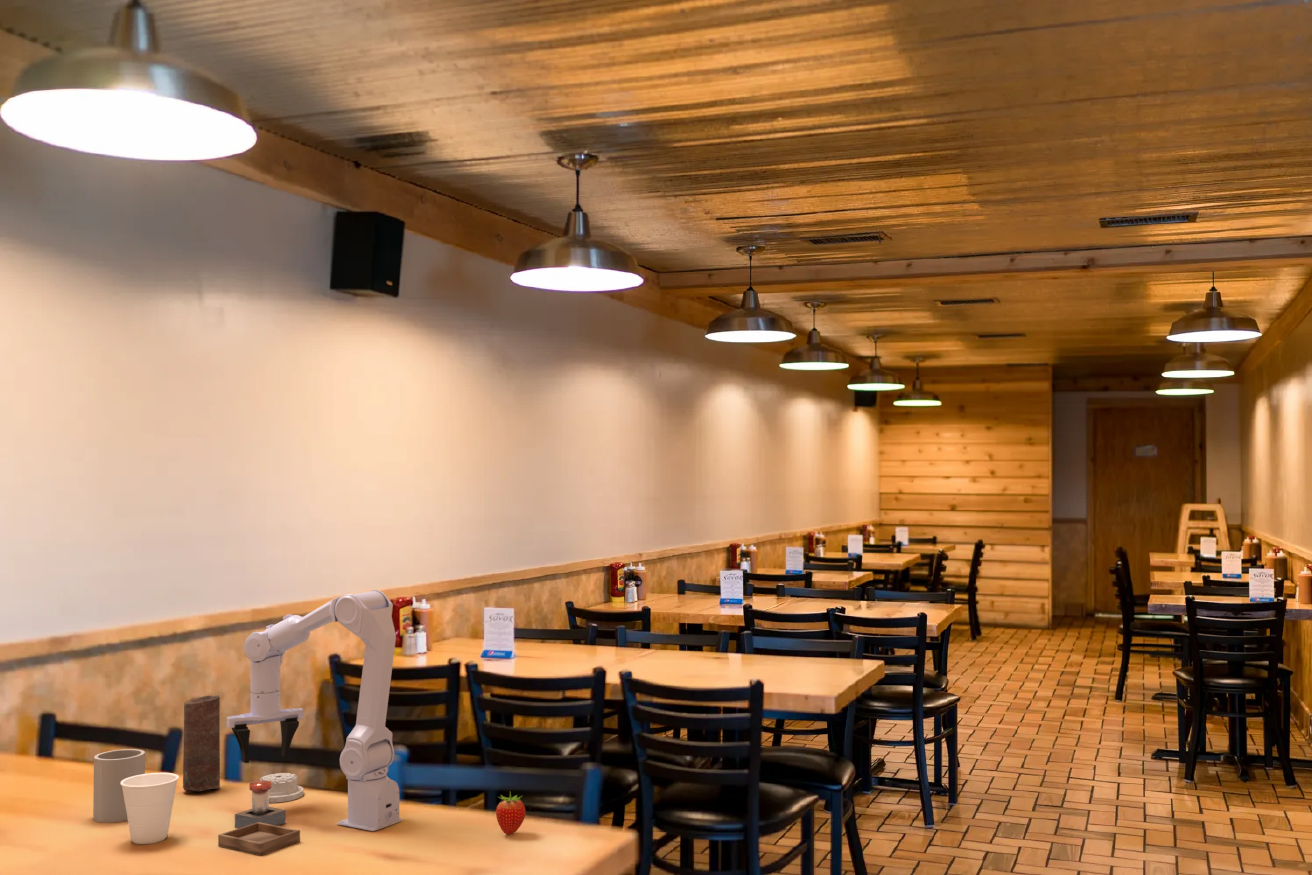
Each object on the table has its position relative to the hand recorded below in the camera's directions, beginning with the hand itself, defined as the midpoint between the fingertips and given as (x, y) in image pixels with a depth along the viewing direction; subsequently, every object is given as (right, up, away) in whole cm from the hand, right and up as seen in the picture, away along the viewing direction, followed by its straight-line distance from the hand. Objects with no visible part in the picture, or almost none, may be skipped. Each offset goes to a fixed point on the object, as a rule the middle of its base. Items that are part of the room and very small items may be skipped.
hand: (265, 759), depth 230 cm
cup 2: (-15, -10, -19) cm, 26 cm away
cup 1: (-28, -10, -4) cm, 30 cm away
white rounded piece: (0, -11, +9) cm, 14 cm away
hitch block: (+3, -10, -11) cm, 15 cm away
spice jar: (+3, -10, -11) cm, 15 cm away
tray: (+6, -9, -22) cm, 25 cm away
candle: (-19, -11, +14) cm, 26 cm away
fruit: (+52, -9, -19) cm, 56 cm away
